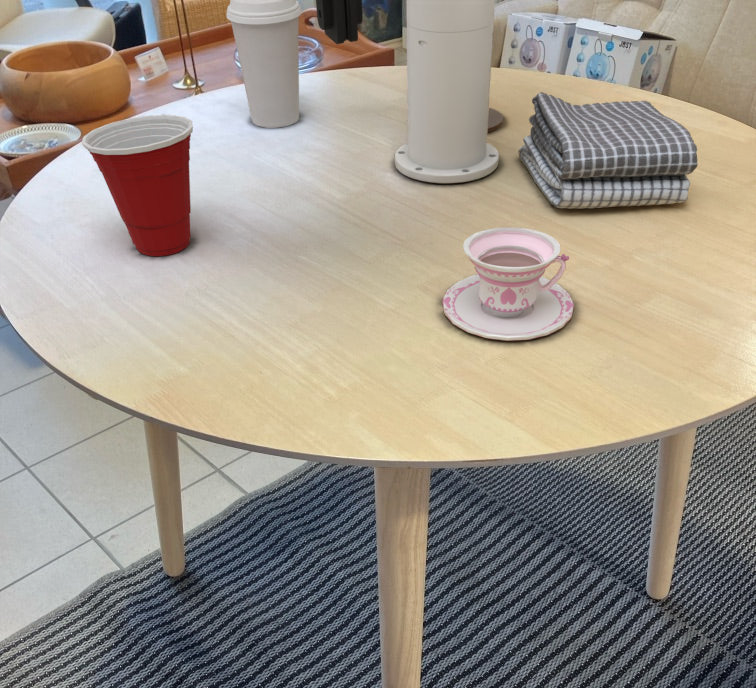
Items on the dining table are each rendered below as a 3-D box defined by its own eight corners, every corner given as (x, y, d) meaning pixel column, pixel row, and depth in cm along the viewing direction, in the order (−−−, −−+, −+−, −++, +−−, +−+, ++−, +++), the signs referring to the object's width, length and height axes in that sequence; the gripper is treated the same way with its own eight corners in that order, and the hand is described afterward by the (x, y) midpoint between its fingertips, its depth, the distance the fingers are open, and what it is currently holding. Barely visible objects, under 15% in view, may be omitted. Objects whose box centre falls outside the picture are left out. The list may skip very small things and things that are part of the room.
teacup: (438, 341, 75) (439, 277, 71) (445, 274, 84) (447, 214, 80) (576, 345, 74) (586, 281, 70) (569, 278, 83) (578, 216, 79)
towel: (556, 220, 92) (564, 146, 87) (516, 155, 105) (521, 88, 100) (692, 209, 93) (709, 135, 88) (636, 146, 106) (647, 79, 101)
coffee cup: (307, 131, 114) (297, 3, 103) (236, 133, 114) (218, 6, 104) (312, 106, 121) (303, -16, 110) (245, 108, 121) (229, -13, 111)
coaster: (416, 115, 117) (416, 111, 116) (483, 104, 119) (483, 100, 119) (445, 140, 110) (446, 135, 109) (516, 128, 112) (516, 123, 112)
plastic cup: (175, 212, 96) (152, 100, 88) (233, 241, 91) (215, 124, 82) (90, 245, 91) (58, 129, 83) (147, 279, 85) (118, 157, 77)
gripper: (411, -309, 55) (414, 10, 68) (182, -294, 51) (231, 39, 64) (461, -308, 50) (453, 36, 63) (210, -291, 46) (257, 69, 59)
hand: (341, 37), depth 64 cm, fingers closed
